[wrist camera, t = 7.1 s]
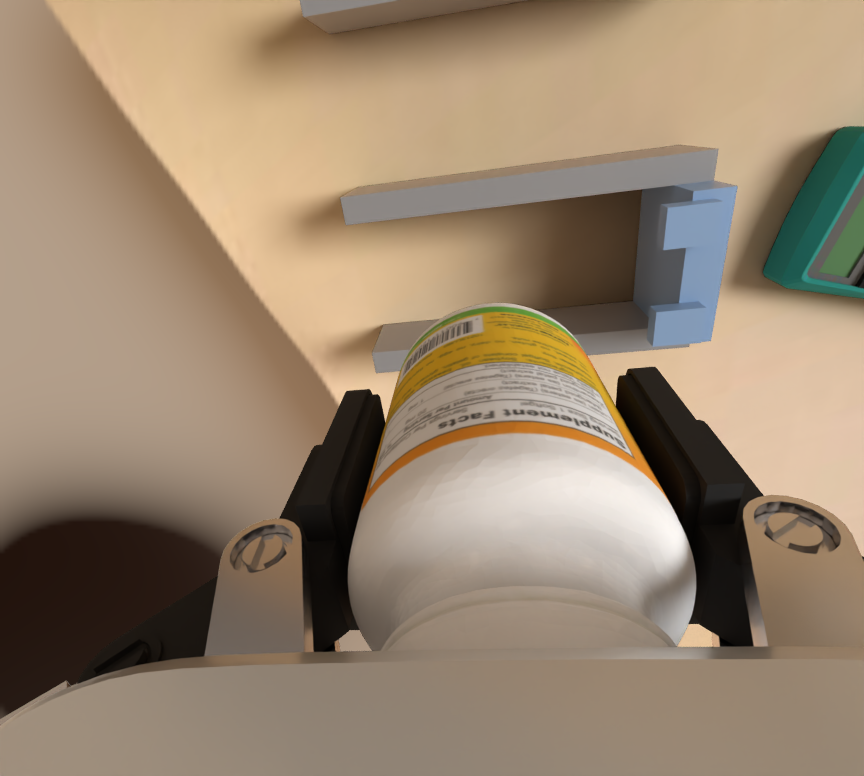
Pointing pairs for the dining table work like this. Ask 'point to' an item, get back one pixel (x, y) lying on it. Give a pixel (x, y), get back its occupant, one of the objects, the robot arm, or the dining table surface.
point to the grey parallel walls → (643, 169)
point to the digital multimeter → (826, 224)
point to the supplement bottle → (513, 502)
